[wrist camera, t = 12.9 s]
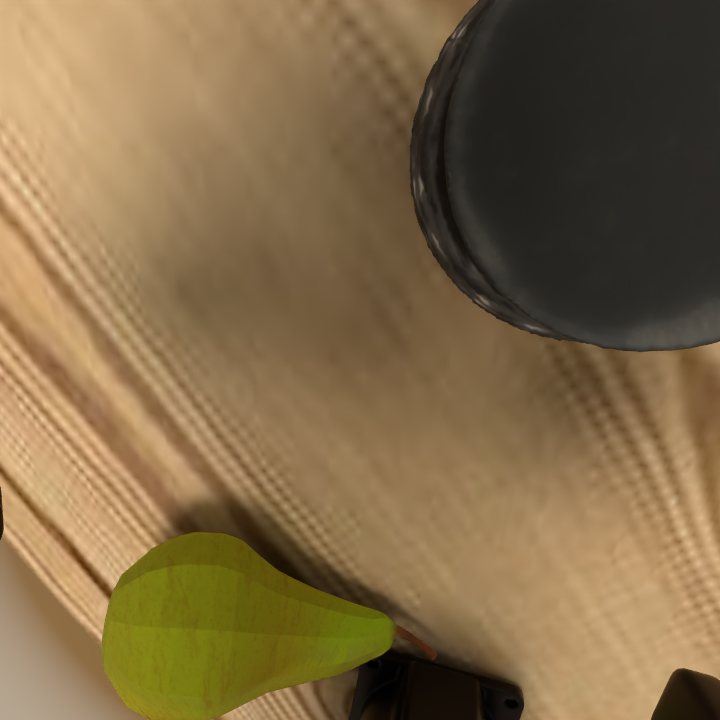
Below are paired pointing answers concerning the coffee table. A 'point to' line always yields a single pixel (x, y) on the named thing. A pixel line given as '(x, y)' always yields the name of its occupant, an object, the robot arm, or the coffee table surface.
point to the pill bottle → (578, 168)
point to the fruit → (227, 630)
